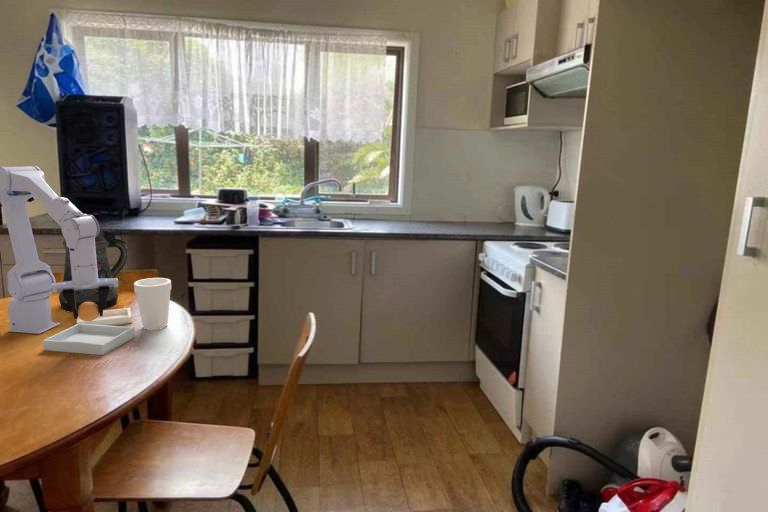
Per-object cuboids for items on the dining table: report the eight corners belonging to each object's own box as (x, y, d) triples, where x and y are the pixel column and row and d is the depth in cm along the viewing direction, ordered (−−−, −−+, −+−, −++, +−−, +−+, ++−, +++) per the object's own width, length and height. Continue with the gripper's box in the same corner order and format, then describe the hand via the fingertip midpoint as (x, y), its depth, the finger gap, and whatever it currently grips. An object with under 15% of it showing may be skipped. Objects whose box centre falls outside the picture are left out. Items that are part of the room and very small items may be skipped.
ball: (73, 323, 134) (71, 304, 133) (86, 317, 139) (85, 298, 138) (91, 324, 133) (90, 305, 132) (104, 318, 138) (102, 299, 137)
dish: (77, 329, 147) (76, 322, 146) (78, 319, 155) (78, 313, 154) (131, 323, 153) (131, 316, 152) (130, 314, 161) (130, 307, 160)
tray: (43, 350, 132) (42, 340, 131) (79, 332, 145) (78, 323, 144) (104, 355, 130) (103, 345, 130) (134, 336, 143) (134, 327, 142)
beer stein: (47, 308, 164) (38, 227, 159) (101, 292, 182) (95, 220, 177) (85, 316, 158) (77, 232, 153) (138, 299, 176) (132, 224, 170)
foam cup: (160, 333, 145) (157, 287, 143) (129, 330, 147) (126, 285, 145) (179, 322, 155) (177, 279, 152) (151, 319, 156) (148, 276, 154)
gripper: (48, 270, 126) (54, 324, 129) (116, 265, 133) (120, 317, 136) (51, 264, 132) (56, 316, 135) (116, 259, 139) (120, 309, 142)
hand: (88, 316), depth 136 cm, fingers closed on ball, 5 cm apart
